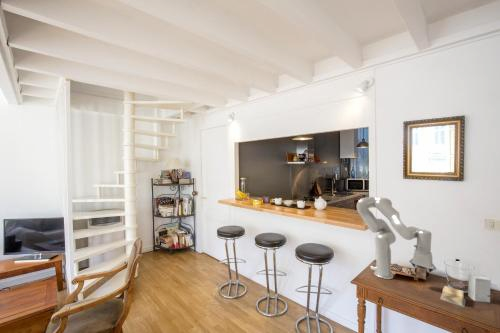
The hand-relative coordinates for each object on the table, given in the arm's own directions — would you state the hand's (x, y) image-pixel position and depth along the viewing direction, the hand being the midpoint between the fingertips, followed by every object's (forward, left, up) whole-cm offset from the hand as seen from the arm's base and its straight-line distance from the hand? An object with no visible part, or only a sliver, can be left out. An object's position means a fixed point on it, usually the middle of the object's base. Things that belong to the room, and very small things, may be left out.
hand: (421, 275), depth 155 cm
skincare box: (+27, +9, -9) cm, 30 cm away
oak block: (+16, -3, -8) cm, 18 cm away
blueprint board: (+16, -3, -9) cm, 19 cm away
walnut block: (0, 0, -1) cm, 1 cm away
